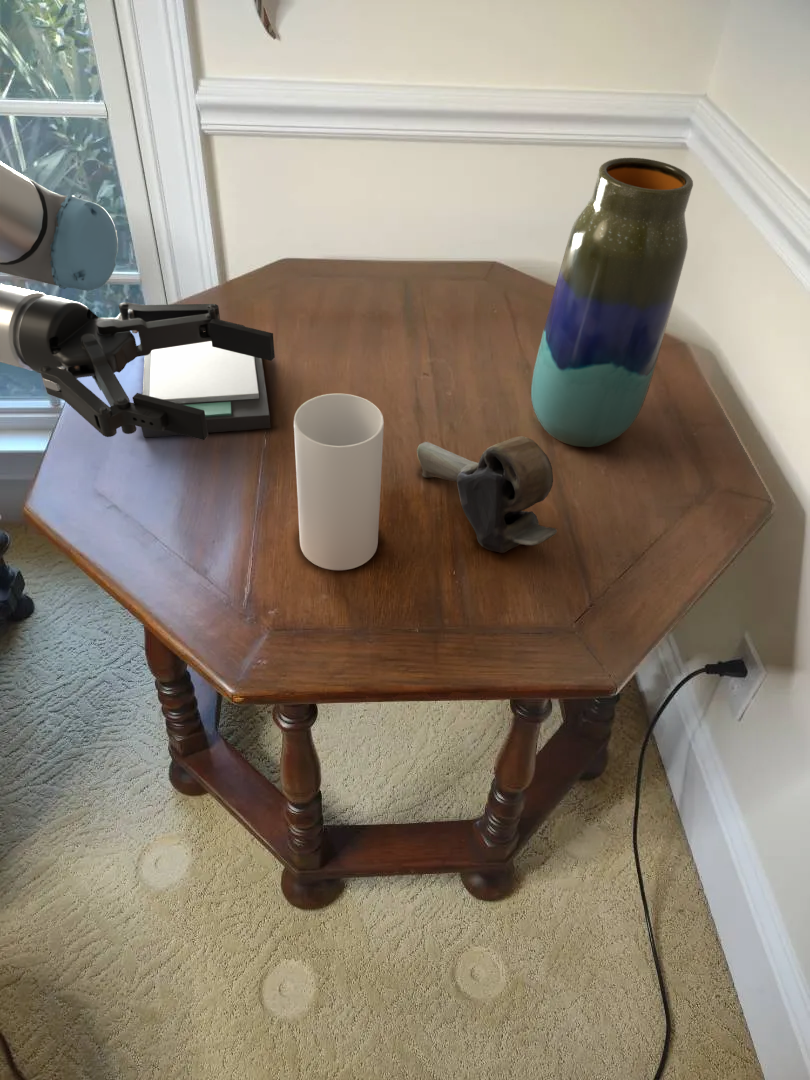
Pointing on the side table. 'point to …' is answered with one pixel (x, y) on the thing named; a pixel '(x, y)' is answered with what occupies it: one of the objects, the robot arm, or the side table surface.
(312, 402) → the cup
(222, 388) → the scale
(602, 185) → the vase
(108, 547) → the side table surface
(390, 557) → the side table surface
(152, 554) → the side table surface
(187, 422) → the robot arm
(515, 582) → the side table surface
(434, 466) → the grey two-tone handled device
